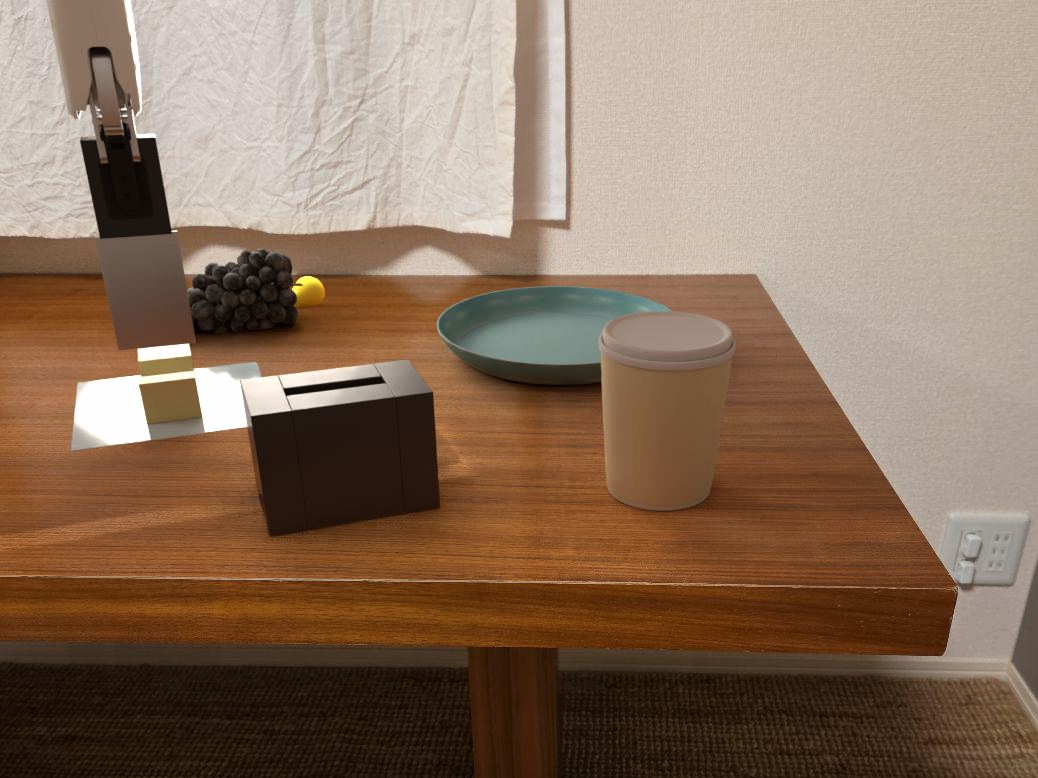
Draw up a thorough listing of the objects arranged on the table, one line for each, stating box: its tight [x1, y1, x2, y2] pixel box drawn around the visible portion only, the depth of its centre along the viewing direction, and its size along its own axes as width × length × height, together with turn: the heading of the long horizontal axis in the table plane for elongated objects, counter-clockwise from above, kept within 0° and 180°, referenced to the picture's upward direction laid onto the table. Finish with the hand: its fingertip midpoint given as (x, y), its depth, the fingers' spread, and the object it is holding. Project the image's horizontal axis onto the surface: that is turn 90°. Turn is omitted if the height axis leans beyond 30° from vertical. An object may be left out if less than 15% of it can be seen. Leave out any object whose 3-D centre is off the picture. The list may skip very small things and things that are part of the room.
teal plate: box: [436, 285, 673, 386], centre depth 100 cm, size 24×24×3 cm
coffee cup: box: [599, 310, 737, 512], centre depth 72 cm, size 9×9×12 cm
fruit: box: [187, 247, 303, 334], centre depth 105 cm, size 9×8×15 cm
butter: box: [136, 344, 198, 390], centre depth 90 cm, size 4×6×4 cm
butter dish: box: [70, 361, 263, 452], centre depth 88 cm, size 16×16×1 cm
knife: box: [79, 133, 197, 352], centre depth 78 cm, size 6×2×16 cm, turn 110°
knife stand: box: [240, 359, 441, 537], centre depth 71 cm, size 12×7×9 cm, turn 110°
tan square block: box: [138, 371, 202, 424], centre depth 83 cm, size 4×2×4 cm, turn 110°
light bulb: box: [291, 275, 326, 309], centre depth 114 cm, size 3×6×4 cm, turn 140°
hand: (131, 212), depth 77 cm, fingers closed on knife, 2 cm apart
